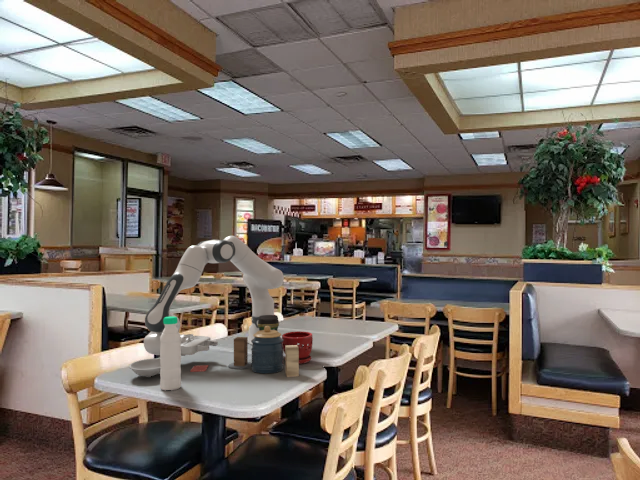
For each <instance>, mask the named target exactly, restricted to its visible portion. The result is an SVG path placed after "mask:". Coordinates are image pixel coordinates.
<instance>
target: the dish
mask: <svg viewBox="0 0 640 480" xmlns="http://www.w3.org/2000/svg"><path fill="white" fill-rule="evenodd" d="M128 368H129V369H131V371H132V372H133V373H134V374H136V375H137V376H140V377H146V378H152V377H154V376H155V375H159V374H160V370H161V365H160V358H146V359H145V358H144V359H140V360H136V361H133V362H131V363H130V364H129V365H128ZM151 376H152V377H151Z"/></svg>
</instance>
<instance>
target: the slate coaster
mask: <svg viewBox="0 0 640 480" xmlns="http://www.w3.org/2000/svg"><path fill="white" fill-rule="evenodd" d="M251 363H252V361H251V362H250V361H248V364H246V365H245V366H234V362H232V363H228V368H229V369H233V370H246V369H251Z"/></svg>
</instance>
